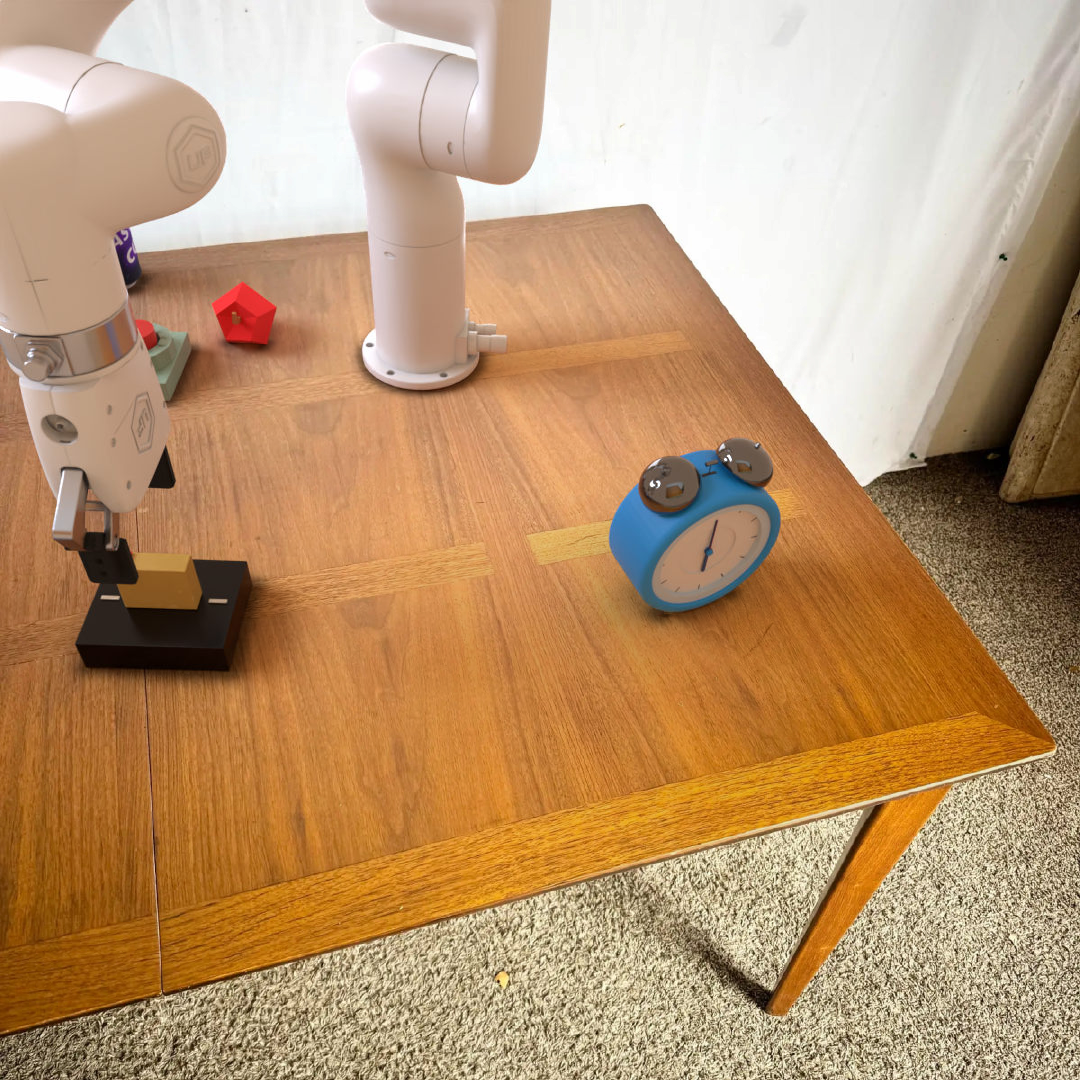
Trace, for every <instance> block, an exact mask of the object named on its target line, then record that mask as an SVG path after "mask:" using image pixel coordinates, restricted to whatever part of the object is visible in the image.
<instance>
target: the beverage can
mask: <svg viewBox="0 0 1080 1080" xmlns="http://www.w3.org/2000/svg"><path fill="white" fill-rule="evenodd" d="M113 241H114V245H115V249H116V252H117V256H118V260H119V263H120V267H121V271H122V274H123V278H124V282H125V285H126V289H127V290H128V289H131V288H132V287H134V286H135V284H136V283H137V281H138V280H139V279H140V278H141V276H142V273H143V272H142V268H141V263H140V260H139V257H138V252H137V250H136V249H137V248H136V246H135V242H134V241H135V240H134V239H133V234H132V231H131V227H130V228H127V229H123V230H120V231H119V232H117V233H116V234H115V235H114V237H113Z"/></svg>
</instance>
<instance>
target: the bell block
mask: <svg viewBox="0 0 1080 1080" xmlns="http://www.w3.org/2000/svg"><path fill="white" fill-rule="evenodd" d="M151 323H152V324H153V326H154V330H155V333H156V337H157V345H156V346H155V347H153V348H152V349H150V350H148V352H149V355H150V358H151V361H152V363H153V366H154V369H155V372H156V375H157V378H158V381H159V384H160V387H161V390H162V393H163V396H164V399H165V402H167V401H168V402H170V401H171V400H172V397H173V395H174V392H175V390H176V387H177V386H178V383H179V381H180V378H181V376H182V374H183V371H184V369H185V367H186V364H187V362H188V359H189V356H190V354H191V352H192V350H193V349H192V343H191V340H190V336H189V333H188V331H171V330H170V329H169V328H168V327H165V326H163V325H161V324H158V323H156V322H151Z"/></svg>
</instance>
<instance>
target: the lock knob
mask: <svg viewBox="0 0 1080 1080" xmlns="http://www.w3.org/2000/svg"><path fill="white" fill-rule="evenodd" d="M130 552H131V554H132V557H133V560H134V563H135V566H136V569H137V572H138V575H139V578H138V581H137V583H136V584H134V585H127V584H117V586H118V589H119V591H120V594H121V596H122V599H123V601H124V604H125V606H126V607H133V608H165V609H197V608H198V605H199V601H200V598H201V595H202V590H201V587H200V583H199V580H198V577H197V573H196V570H195V567H194V563H193V560H192V559H193V557H192V554H191V553H166V552H165V553H161V552H136V551H132V550H130Z"/></svg>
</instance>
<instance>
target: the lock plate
mask: <svg viewBox="0 0 1080 1080" xmlns="http://www.w3.org/2000/svg"><path fill="white" fill-rule="evenodd" d="M192 560H193V563H194V567H195V570H196V573H197V577H198V580H199V583H200V587H201V590H202V595H201V598H200V601H199V605H198V608H197V609H165V608H133V607H126V606H125V604H124V601H123V599H122V596H121V594H120V591H119V589H118V586H117V584H101V583H98V587H97V588H96V592H95V594H94V597H93V599H92V601H91V603H90V606H89V608H88V611H87V613H86V616H85V618H84V621H83V622H82V625H81V628H80V630H79V632H78V635H77V637H76V640H75V642H74V645H75V647H76V650H77V652H78V653H79V656H80V658H81V660H82V662H83V665H84V666H85V668H92V669H93V668H95V669H97V668H98V669H128V670H129V669H132V670H160V671H161V670H162V671H163V670H164V671H165V670H166V671H197V672H200V671H202V672H230V671H231V668H232V665H233V661H234V656H235V654H236V653H235V652H236V650H237V645H238V642H239V638H240V634H241V630H242V627H243V623H244V619H245V615H246V612H247V607H248V605H249V600H250V596H251V592H252V589H253V585H254V583H253V581H252V576H251V572H250V568H249V564H248V561H247V560H231V559H230V560H228V559H227V560H226V559H225V560H224V559H222V560H221V559H199V558H198V559H197V558H192Z"/></svg>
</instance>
